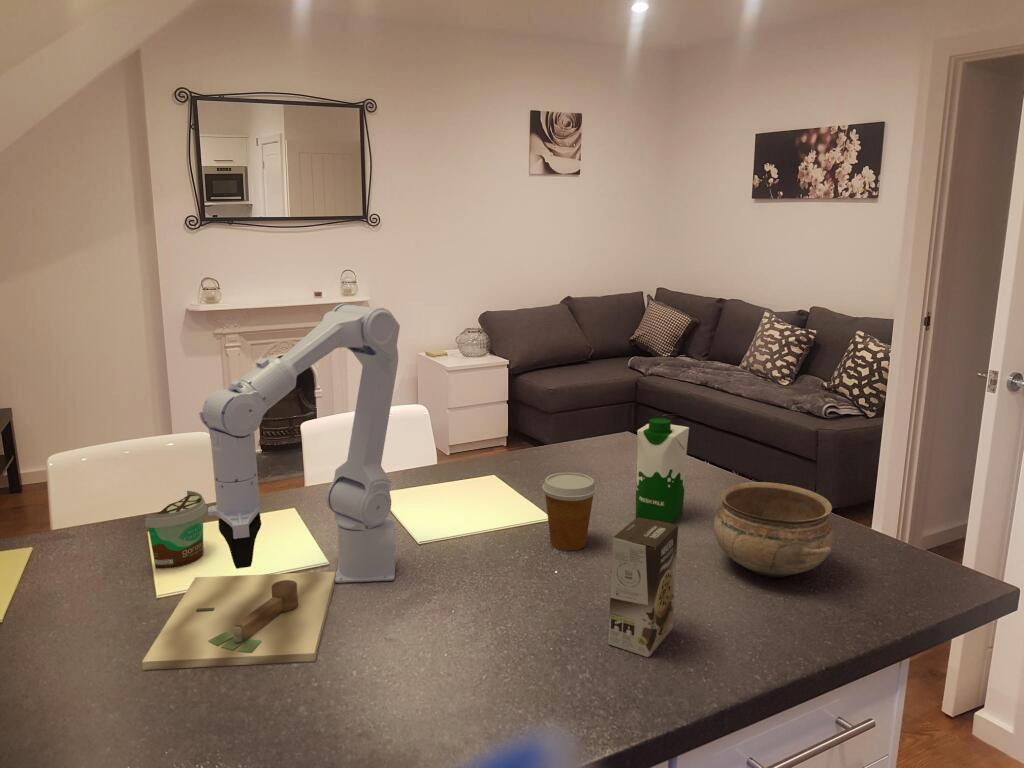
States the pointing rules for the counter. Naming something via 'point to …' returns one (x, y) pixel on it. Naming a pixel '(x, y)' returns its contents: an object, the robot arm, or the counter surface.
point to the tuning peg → (268, 609)
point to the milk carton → (661, 470)
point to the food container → (178, 532)
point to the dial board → (227, 600)
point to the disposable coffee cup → (568, 509)
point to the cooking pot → (774, 527)
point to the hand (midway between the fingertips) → (243, 565)
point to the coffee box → (642, 585)
